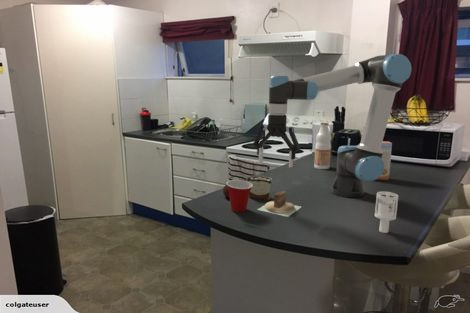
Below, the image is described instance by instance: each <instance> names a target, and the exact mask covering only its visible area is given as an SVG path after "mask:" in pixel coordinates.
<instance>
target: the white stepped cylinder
mask: <svg viewBox="0 0 470 313" xmlns="http://www.w3.org/2000/svg"><path fill="white" fill-rule="evenodd" d="M398 202H399V194H397V193H395V192H392V191H377V192H376V199H375V209H374V217H375V218H377V219H379V220H380V221H379V229H378V230H379V231H378V232H380V233H384V234H388V233H389V230H390V221H395V220H396V219H397V212H398Z"/></svg>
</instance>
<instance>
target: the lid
mask: <svg viewBox="0 0 470 313" xmlns="http://www.w3.org/2000/svg"><path fill="white" fill-rule="evenodd" d="M286 198H287V192H286V191H285V190H284V191H283V190H280V191H278V192H276V193H274V197H273V200H271V201H268V202H266V203H265V204H264V205H265V209H266V210H268V211H270V212H274V213H289V212H292V211H294V205H295V204H293V203H292V202H288V201H286Z"/></svg>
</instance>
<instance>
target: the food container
mask: <svg viewBox="0 0 470 313" xmlns="http://www.w3.org/2000/svg"><path fill="white" fill-rule="evenodd" d="M245 181H247V182H250V183H251V184H253V187H252V188H251V190H250V193H249V198H251V199H260V200H267V201H269V200H270V199H271V198H270V197H271V191H272V185H274V181H273V178H272V177H270V176H267V175H259V174H257V175H255V174H254V175H249V176H247V177H246V180H245ZM249 198H248V199H249Z"/></svg>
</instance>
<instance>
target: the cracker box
mask: <svg viewBox="0 0 470 313" xmlns="http://www.w3.org/2000/svg"><path fill="white" fill-rule="evenodd" d="M392 146H393V142H390V141H388V140H387V141H385V140H383V141H382V145H381V150H382V151H383V155H382V160H383V163H384V166H385V167H384V171H383V173H382V175H381V176H380V177H379V178H377V179H376V180H379V181H380V180H381V181H389V179H390V171H391V159H392V150H393V149H392V148H393V147H392ZM376 180H375V181H376Z"/></svg>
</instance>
